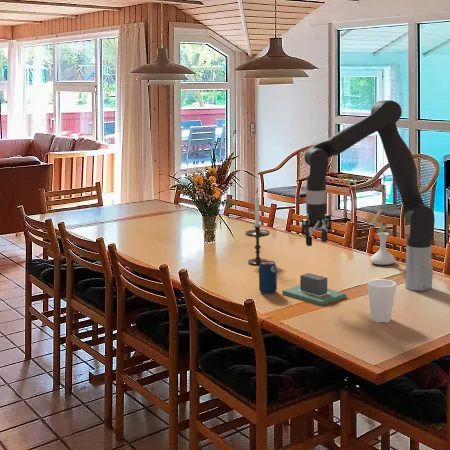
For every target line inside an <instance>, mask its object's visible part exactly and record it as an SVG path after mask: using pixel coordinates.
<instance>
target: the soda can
mask: <svg viewBox="0 0 450 450" xmlns="http://www.w3.org/2000/svg"><path fill="white" fill-rule="evenodd" d="M277 267H278V266H277V265H276V261H273V260H268V261H262V262H260V265H258V290H259V291H260V293H261V294H263V293H264V295H273V294H276V292H277V290H278V289H277V288H278V286H277V285H278V279H277Z"/></svg>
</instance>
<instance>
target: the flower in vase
mask: <svg viewBox="0 0 450 450" xmlns="http://www.w3.org/2000/svg"><path fill="white" fill-rule="evenodd" d="M381 212H382V210H381V209H378V210H377V212H376V213H375V214H374V215H373V218H372V219H371V220H370V225H371V226H372V225H374V224H375V222H376V221H378V223H379V225H380V227H378V229H377V230H376V233H377V235H378V237H379V242H380V247H379V250H378V251H377V252H375V253H374V254H373V255H371V256H370V258H369V261H370V262H371V263H372V264H375V265H379V266H383V265H384V266H385V265H387V266H389V265H392V264H395V263H396V261H397V259H396V257H395V256H394V255H392V254H391V253H390V252H389V251H388V249H387V247H386V246H387V245H386V244H387V243H386V242H387V239H388V236H390V233H389V232H385V231H387V227H386V224H384V225H382V223H381V220H380V218H379V217H380V215H381Z"/></svg>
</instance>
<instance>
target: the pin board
mask: <svg viewBox="0 0 450 450" xmlns="http://www.w3.org/2000/svg"><path fill="white" fill-rule="evenodd" d="M282 295H285V296H287V297H291V298H295V299H299V300H301V301H305V302H308V303H311V304H314V305H318V306H321V307H323V306H325V305H328V304H331V303H334V302H337V301H340V300H343V299H345V298H347V293H345V292H342V291H338V290H335V289H331V288H328V287H327V293H326V294H323V295H320V296H319V295H315V294H312V293H308V292H305V291H301V290H300V285H296V286H292V287H289V288H285V289H283V290H282Z"/></svg>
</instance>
